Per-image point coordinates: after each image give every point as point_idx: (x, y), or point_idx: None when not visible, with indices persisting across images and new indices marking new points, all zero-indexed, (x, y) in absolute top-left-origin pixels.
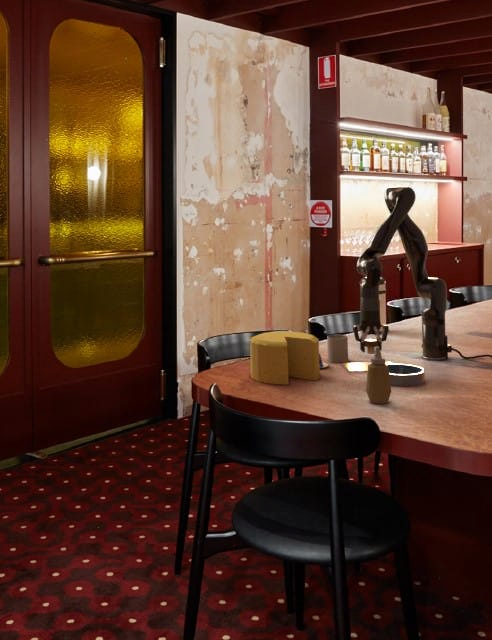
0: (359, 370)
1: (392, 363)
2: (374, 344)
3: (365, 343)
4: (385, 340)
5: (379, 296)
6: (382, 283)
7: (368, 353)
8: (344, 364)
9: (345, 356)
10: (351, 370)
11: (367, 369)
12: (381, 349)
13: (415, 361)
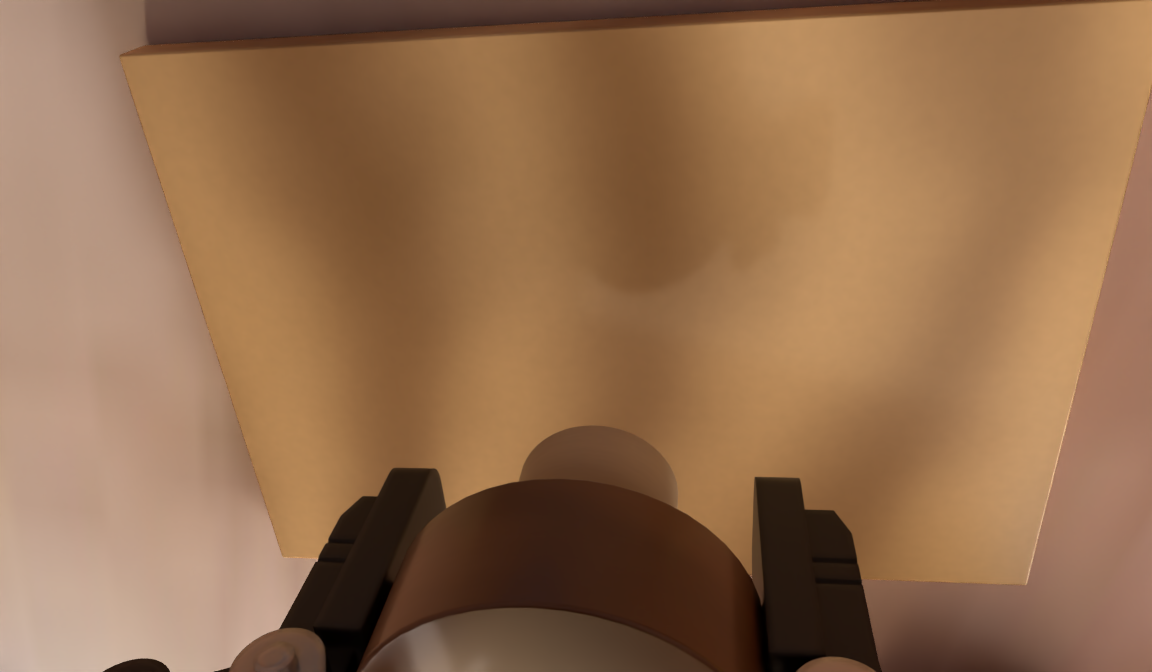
0: (941, 44)
1: (279, 475)
2: (488, 534)
3: (747, 632)
4: (126, 665)
5: None
6: None
7: (664, 462)
8: (1038, 500)
9: None
10: (1116, 52)
11: (749, 122)
12: (347, 511)
13: (29, 613)
